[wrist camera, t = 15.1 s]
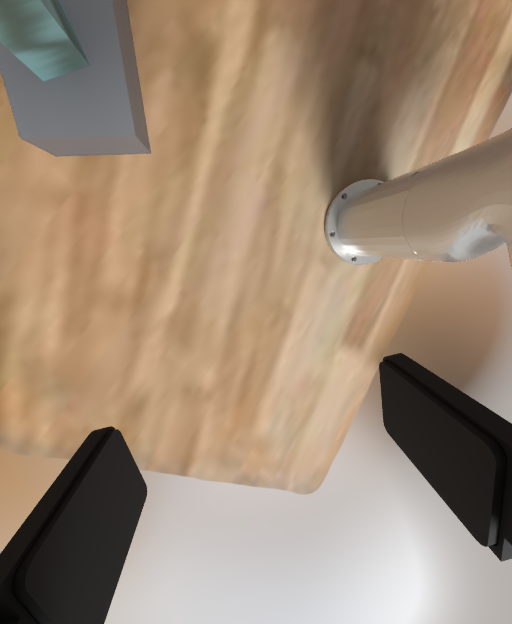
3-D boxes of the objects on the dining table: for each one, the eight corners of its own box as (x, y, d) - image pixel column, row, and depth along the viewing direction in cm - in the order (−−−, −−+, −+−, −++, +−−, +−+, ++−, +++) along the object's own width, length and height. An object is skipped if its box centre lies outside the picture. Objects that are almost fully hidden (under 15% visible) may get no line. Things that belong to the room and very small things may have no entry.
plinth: (127, -1, 28) (101, -64, 22) (151, 154, 33) (135, 135, 27) (16, -4, 27) (-41, -71, 21) (58, 157, 31) (20, 137, 26)
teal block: (62, 4, 23) (-18, -114, 16) (89, 65, 25) (28, -15, 17) (13, 21, 23) (-92, -90, 16) (43, 81, 25) (-39, 7, 17)
